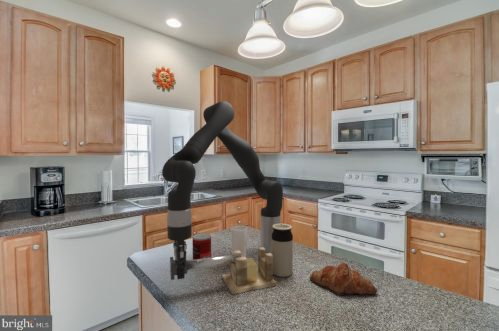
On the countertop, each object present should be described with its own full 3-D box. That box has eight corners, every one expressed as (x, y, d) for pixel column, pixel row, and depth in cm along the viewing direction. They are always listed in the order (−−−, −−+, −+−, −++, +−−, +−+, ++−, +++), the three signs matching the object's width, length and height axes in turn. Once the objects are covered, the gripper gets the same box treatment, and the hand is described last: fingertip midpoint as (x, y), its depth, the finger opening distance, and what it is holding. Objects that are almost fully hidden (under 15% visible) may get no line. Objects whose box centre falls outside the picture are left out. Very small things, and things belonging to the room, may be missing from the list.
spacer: (250, 273, 93) (250, 257, 93) (257, 281, 88) (257, 264, 87) (240, 275, 92) (240, 259, 92) (246, 283, 86) (246, 265, 86)
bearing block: (262, 270, 98) (262, 245, 98) (276, 285, 87) (276, 256, 86) (222, 277, 92) (222, 250, 92) (231, 294, 81) (231, 263, 81)
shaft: (236, 261, 91) (236, 248, 91) (241, 268, 86) (241, 253, 85) (170, 272, 83) (169, 257, 83) (171, 279, 78) (170, 264, 77)
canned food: (213, 258, 110) (213, 233, 110) (208, 266, 102) (208, 239, 102) (196, 257, 111) (195, 232, 111) (190, 265, 103) (189, 238, 103)
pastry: (331, 303, 77) (331, 277, 77) (308, 279, 92) (308, 257, 92) (378, 295, 81) (378, 271, 81) (348, 274, 96) (349, 253, 95)
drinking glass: (227, 265, 103) (227, 229, 102) (236, 259, 109) (236, 225, 108) (242, 269, 100) (242, 231, 99) (250, 262, 106) (250, 227, 105)
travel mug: (292, 278, 92) (292, 229, 91) (270, 276, 93) (270, 228, 93) (292, 268, 100) (293, 223, 99) (272, 267, 101) (272, 222, 101)
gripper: (194, 227, 75) (195, 283, 76) (188, 216, 89) (189, 265, 89) (168, 230, 73) (169, 288, 73) (166, 218, 86) (167, 268, 87)
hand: (180, 275), depth 81 cm, fingers closed on shaft, 3 cm apart
